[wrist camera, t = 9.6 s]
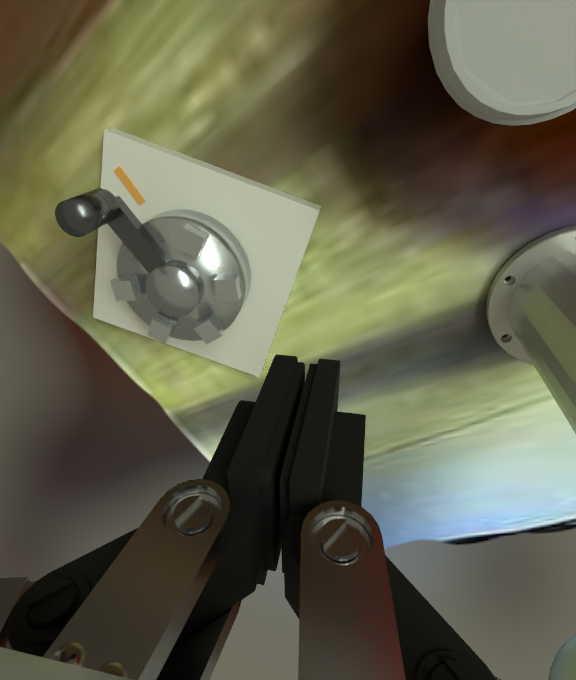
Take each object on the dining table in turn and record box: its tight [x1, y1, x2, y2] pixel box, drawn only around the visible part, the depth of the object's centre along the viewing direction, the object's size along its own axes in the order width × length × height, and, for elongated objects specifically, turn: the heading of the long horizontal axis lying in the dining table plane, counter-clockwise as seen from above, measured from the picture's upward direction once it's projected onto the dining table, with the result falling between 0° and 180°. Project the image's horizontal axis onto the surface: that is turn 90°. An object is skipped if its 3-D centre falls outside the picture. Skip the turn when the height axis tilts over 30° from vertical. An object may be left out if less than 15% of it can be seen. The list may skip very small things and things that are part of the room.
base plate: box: [93, 128, 321, 377], centre depth 38 cm, size 18×18×2 cm
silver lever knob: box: [55, 188, 251, 344], centre depth 33 cm, size 15×11×8 cm
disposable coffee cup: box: [428, 0, 576, 125], centre depth 21 cm, size 10×10×12 cm
